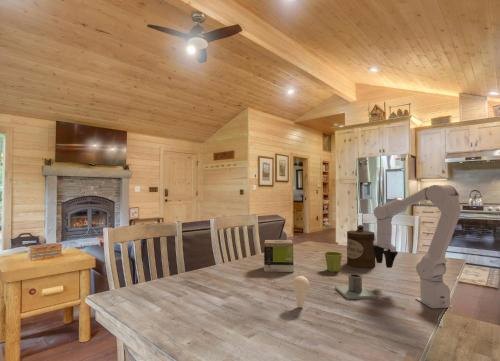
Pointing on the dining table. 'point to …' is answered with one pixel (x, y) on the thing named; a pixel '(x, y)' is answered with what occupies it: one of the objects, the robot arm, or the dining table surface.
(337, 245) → the dining table surface
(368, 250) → the wooden container
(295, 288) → the lightbulb
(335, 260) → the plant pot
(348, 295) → the shaft plate
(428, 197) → the robot arm
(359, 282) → the tube
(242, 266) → the dining table surface
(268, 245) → the tea box
